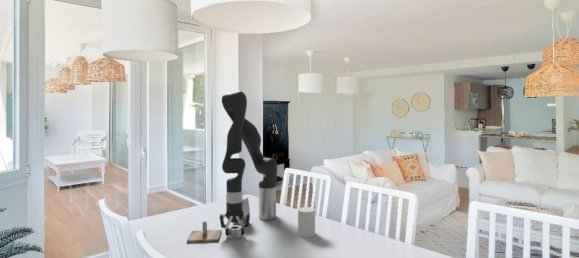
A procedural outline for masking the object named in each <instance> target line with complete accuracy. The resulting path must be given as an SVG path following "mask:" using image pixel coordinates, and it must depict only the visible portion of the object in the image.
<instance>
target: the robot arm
mask: <svg viewBox="0 0 579 258" xmlns="http://www.w3.org/2000/svg"><path fill="white" fill-rule="evenodd" d="M221 103H222V107H223V109H224V111H225V112H226V114H227V115H228V117H229V118H230V121H232V124H231V125H230V127H229V130H228V133H227V136H226V151H225V154H224V157H223V161H222V165H221V166H222V167H221V169H222V171H223V172H224V173H225V174H237V175H236V176H233V177H230V178H228V179H226V194H225V195H226V196H225V200H226V202H225V204H226V205H225V209H226V210H225V211H226V212H225V213H221V214H219V222H220V228H221V229H225V230H224V231H225V233H224V234H225V236H226V238H228V227H230V224H231V223H233V222H239V224H240V226H241V237H243V236H244V234H245V228H247V227H248V226H249V223H248V221H249V213H247V214H246V213H243V202H242V200H243V189H242V187H243V178H244V177H243V176H244V172H245V169H246V161H245V160H244V158H243V157H232V156H233V155H237V154H240V153H241V152H242V151H243V150H242V149H243V144H244V145H245V148H246V149H247V151H248V154H249V156H250V158H251V160H252V163H253V166H254V168H255V171H256V172H257V173H259V174H260V175H264V179H263V180H262V179H261V180H259V182H258V217H259V219H261V220H265V221H268V220H269V221H270V220H275V219H277V199H276V196H277V194H276V190H277V189H276V184H277V181H278V180H277V179H278V164H277V160H276V159H275V158H272V157H265V156H264V155H263V153H262V152H261V142H262V138H261V134H260V133H259V131H258V129H257V127H256V126H255V124H254V123H252V122H251V121H249V120H248V119H247V118H246V113H247V107H248V99H247V96H246V93H244V91H241V90H240V91H239V90H238V91H233V92H229V93H225V94H223V95H222V96H221ZM243 216H245V218H246V223H245V224H243V222H242V219H241V218H242V217H243ZM225 218H226V219H227V222H226V224H225V221H224V219H225ZM249 222H250V221H249ZM233 224H234V223H233Z"/></svg>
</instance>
